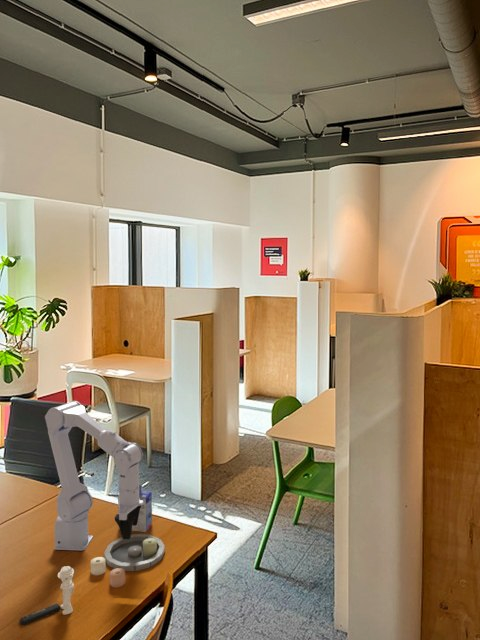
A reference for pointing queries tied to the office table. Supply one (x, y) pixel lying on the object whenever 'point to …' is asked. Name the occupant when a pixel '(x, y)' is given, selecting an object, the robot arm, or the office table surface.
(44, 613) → the usb stick
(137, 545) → the tray
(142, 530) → the ink cartridge box
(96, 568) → the bead cream
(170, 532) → the office table surface
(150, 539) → the bead olive
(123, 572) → the bead terracotta
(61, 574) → the hat wearing toy figure
